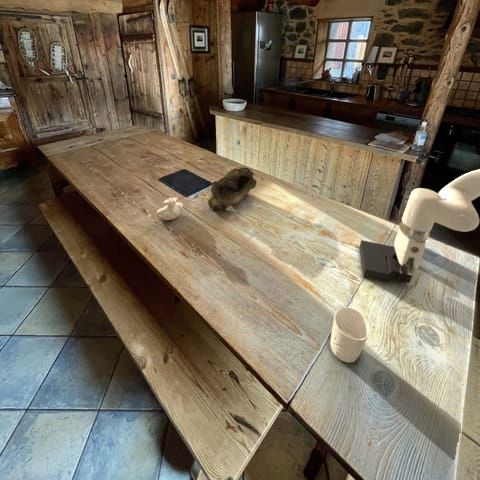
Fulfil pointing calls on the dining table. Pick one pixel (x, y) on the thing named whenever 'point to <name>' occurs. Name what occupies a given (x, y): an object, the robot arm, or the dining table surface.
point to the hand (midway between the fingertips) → (397, 272)
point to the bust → (170, 209)
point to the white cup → (349, 334)
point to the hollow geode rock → (231, 188)
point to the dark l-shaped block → (375, 260)
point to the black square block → (395, 268)
